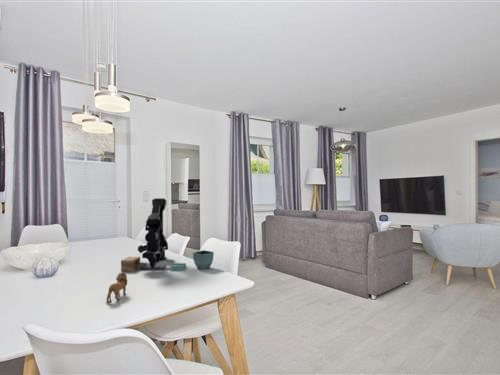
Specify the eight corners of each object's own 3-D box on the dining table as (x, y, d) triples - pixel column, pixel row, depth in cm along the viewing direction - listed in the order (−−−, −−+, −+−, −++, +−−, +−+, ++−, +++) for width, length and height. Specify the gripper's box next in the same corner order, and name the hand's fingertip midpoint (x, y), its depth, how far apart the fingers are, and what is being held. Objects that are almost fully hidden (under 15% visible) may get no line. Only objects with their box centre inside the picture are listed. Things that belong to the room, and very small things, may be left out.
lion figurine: (117, 292, 127) (116, 271, 127) (129, 291, 127) (129, 271, 127) (103, 305, 112) (103, 281, 112) (118, 304, 112) (117, 281, 113)
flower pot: (203, 270, 159) (203, 254, 159) (192, 268, 164) (192, 252, 164) (214, 267, 166) (214, 251, 166) (203, 265, 171) (203, 250, 171)
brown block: (128, 266, 169) (128, 256, 169) (140, 266, 169) (140, 256, 169) (121, 271, 160) (121, 260, 160) (133, 271, 160) (133, 260, 160)
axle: (141, 269, 166) (143, 262, 167) (166, 269, 165) (166, 262, 167) (139, 268, 162) (140, 261, 164) (163, 268, 162) (164, 261, 163)
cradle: (174, 267, 167) (174, 262, 168) (186, 267, 167) (186, 262, 167) (170, 270, 159) (169, 266, 160) (182, 270, 159) (182, 266, 159)
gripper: (146, 237, 174) (146, 263, 174) (132, 242, 155) (132, 271, 155) (164, 237, 173) (165, 263, 173) (152, 242, 155) (153, 271, 155)
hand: (154, 267), depth 164 cm, fingers open, 5 cm apart
